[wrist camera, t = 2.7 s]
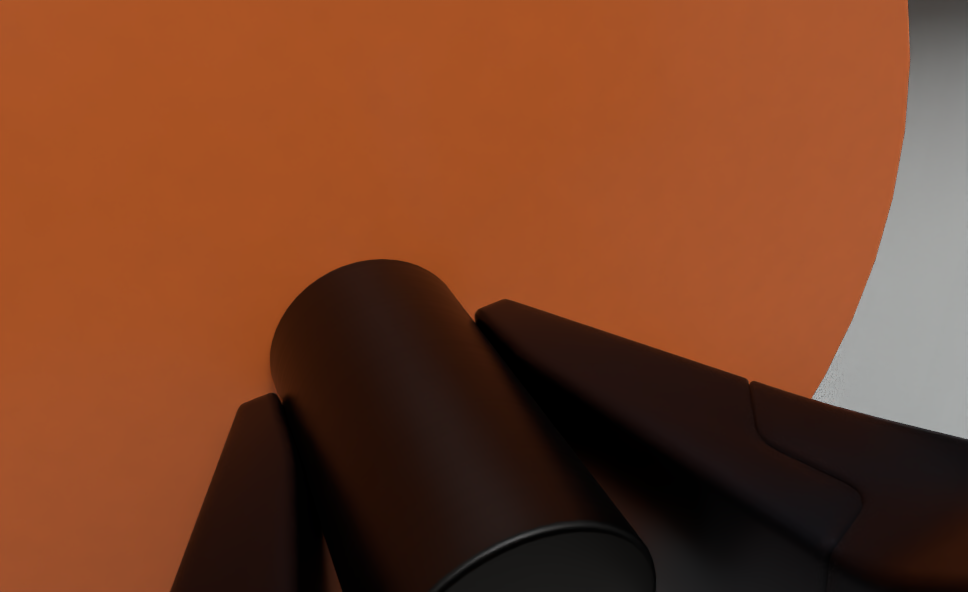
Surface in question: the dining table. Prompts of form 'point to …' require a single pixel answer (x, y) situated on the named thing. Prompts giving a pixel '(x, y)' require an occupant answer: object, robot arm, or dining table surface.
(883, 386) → the dining table surface
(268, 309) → the lid
